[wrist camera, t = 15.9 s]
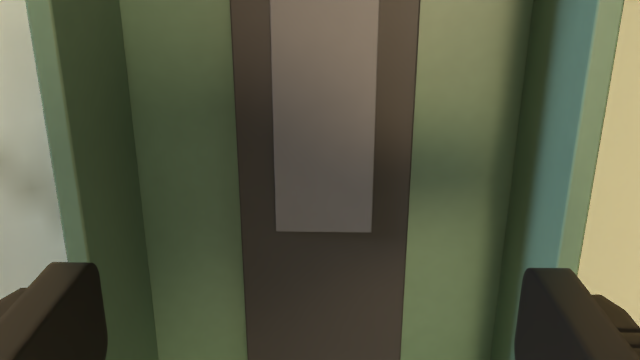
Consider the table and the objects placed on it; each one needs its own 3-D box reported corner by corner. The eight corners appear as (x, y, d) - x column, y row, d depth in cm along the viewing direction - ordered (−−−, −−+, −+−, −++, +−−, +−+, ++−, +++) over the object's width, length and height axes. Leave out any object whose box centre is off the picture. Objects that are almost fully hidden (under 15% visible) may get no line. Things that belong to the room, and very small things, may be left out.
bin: (154, 408, 24) (109, 523, 19) (80, -226, 16) (-25, -298, 12) (493, 415, 24) (534, 533, 19) (576, -228, 16) (677, -304, 11)
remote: (262, 364, 22) (249, 433, 19) (242, -122, 17) (220, -139, 13) (388, 366, 22) (397, 436, 19) (411, -122, 16) (430, -140, 13)
